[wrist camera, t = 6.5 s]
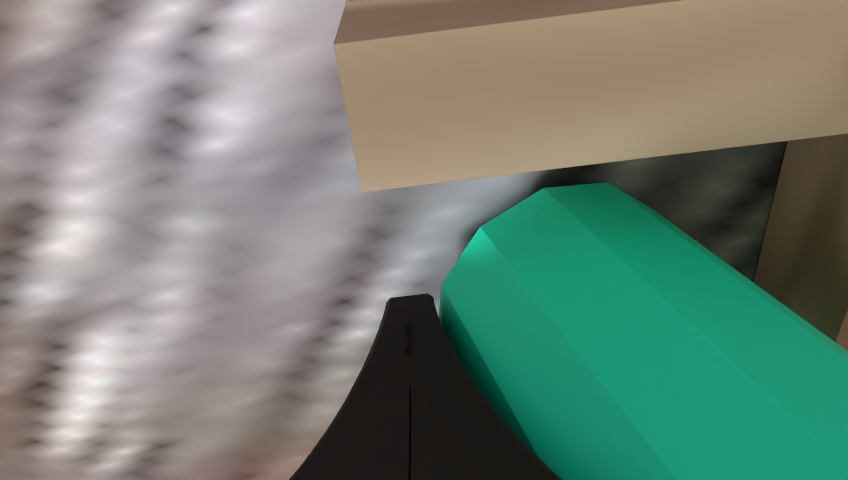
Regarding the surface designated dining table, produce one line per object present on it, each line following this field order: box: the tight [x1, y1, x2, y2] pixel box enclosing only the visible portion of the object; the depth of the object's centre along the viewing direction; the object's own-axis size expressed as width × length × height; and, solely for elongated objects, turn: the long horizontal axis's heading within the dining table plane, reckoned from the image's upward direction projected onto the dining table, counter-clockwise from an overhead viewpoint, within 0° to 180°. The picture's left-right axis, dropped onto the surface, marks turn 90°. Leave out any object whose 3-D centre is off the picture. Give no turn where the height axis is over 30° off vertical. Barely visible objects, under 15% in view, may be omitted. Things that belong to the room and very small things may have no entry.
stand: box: [334, 0, 848, 351], centre depth 13 cm, size 18×11×3 cm, turn 7°
